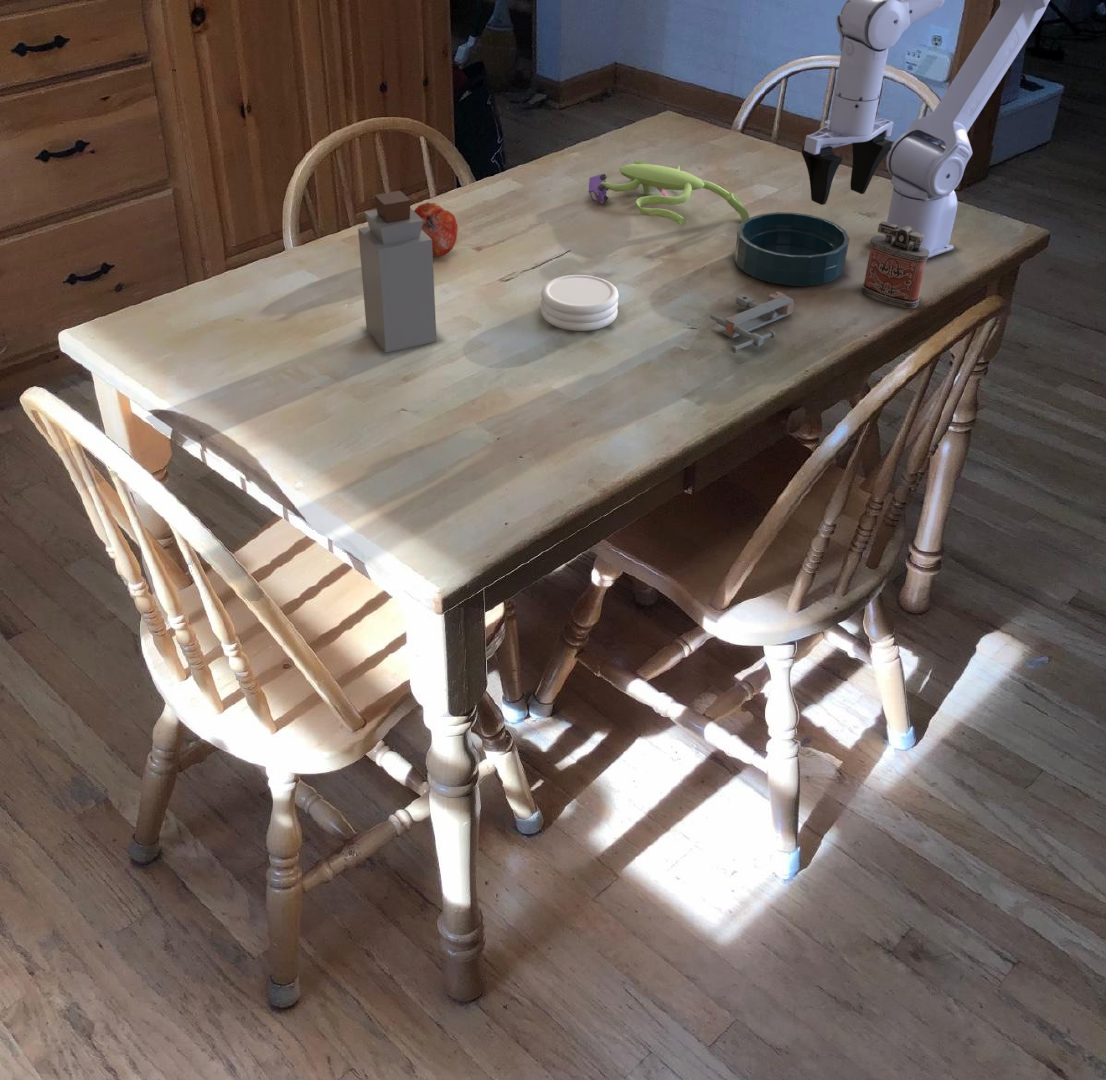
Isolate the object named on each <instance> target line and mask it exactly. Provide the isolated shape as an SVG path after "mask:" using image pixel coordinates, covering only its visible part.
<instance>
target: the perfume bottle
mask: <svg viewBox="0 0 1106 1080" xmlns="http://www.w3.org/2000/svg"><path fill="white" fill-rule="evenodd" d="M374 201H375V207H376V209H371V210H364V211H363V213H364V217H365V219H366V222H367V224H368V226H364V227H358V228H357V232H358V246H359V255H360V256H359V257H360V267H361V268H360V269H361V279H362V291H363V304H364V315H365V325H366V330H367V332H368V333H369V334H370V335H371V336H372V338H374V341H375V342H377V343H378V345H379V346H380V347H381V349H382V350H383V351H384V352H385V353H389V352H395V351H398V350H399V351H400V350H403V349H404V350H405V349H407V348H413V347H417V346H421V345H426V344H430V343H435V342H438V341H437V322H436V321H437V320H436V300H435V299H436V297H435V277H434V256H433V251H432V239H431V238H430V237H429V236H428V235H427V234H426V233H425V232H424V231H423V230H421V229H422V225H423V221H424V220H423V219H422V218H421V217H420V216H418V215H417V214H416V213H415V212H414V210H413V209H412V208H411V199H410V198H409V197H408V196H407V195H406V194H404V192H402V190H395V191H390V192H384V193H377V194H374Z"/></svg>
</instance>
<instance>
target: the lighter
mask: <svg viewBox="0 0 1106 1080" xmlns="http://www.w3.org/2000/svg"><path fill="white" fill-rule="evenodd" d="M877 233H879V234H883V235H874V236H872V237H871V238H870V241H869V246H870V249H869V255H868V259H867V264H866V265H867V266H866V271H865V276H864V282H863V283H862V285H861V290H860V291H861V294H864V295H865V296H868V297H869V298H872V299H875V300H877V301H880V302H883V303H886V304H889V305H893V306H896V307H901V308H905V309H915V308H917V307H918V306H919V302H920V296H919V295H920V293H921V286H922V282H923V278H924V273H925V268H926V263H927V260H928V259H929V258H928V257H929V251H928V250H927V249H925V248H922V247H920V246H921V243H922V241H923V236H924V235H923V234H921V233H918V232H914V231H913V229H912V228H911V227H910V226H905V227H903V228H901V227H898V225H895V224H891V223H888V222H887V221H884V220H883V221H881V222H880V223H878V227H877ZM885 234H886V237H885V236H884V235H885ZM892 237H895V239H894V238H892Z"/></svg>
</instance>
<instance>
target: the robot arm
mask: <svg viewBox="0 0 1106 1080" xmlns="http://www.w3.org/2000/svg"><path fill="white" fill-rule="evenodd" d="M945 1H946V0H846V1H845V3H844V4H843V5H842V7H841V10H840V13H839V14H837V15H836V30H837V32H838V33H839V37H840V38H839V39H840V40H839V47H838V48H839V49H840V53H841V54H840V58H839V64H838V69H837V76H836V82H835V87H834V93H833V99H832V105H831V111H830V117H829V119H827V120H825V121H824V123H823V127H822V128H820V129H819V130H817V131H815V132H813V133H811V134H808V135H806V136H805V140H804V145H802V148H801V156H802V158H803V160H804V163H805V166H806V170H807V173H808V178H809V187H810V201H811V202H814V203H816V204H818V205H821V206H823V205H826V204H827V202H828V200H829V196H830V193H831V188H832V185H833V181H834V178H835V175H836V173H837V171H838V168H839V166H840V165H841V163H842V161H843V160H844V159H843V157H841V156H838V155H836V154H835V152H834V151H833V149H834V148H839V147H843V146H847V145H851V147H852V168H851V173H850V174H851V175H850V190H851V191H853V192H856V193H858V194H860V195H863V194H865V193H866V191H867V189H868V187H869V185H870V183H871V182H872V178H873V177H874V174H875V172H876V171H877V169H878V167H879V166H880V164H881V162H882V161H883V160H884V158H885V157H886V160H885V161H886V163H885V164H886V169H887V172H888V173H889V175H891V180H890V184H892V185H893V187H892V193H891V199H890V205H889V209H888V215H887V220H886V222H888V223H891V224H895V225H898V227H901V228H903V227H905V226H910V227H911V228H912V229H913V231H914V232H918V233H921V234H923V235H924V236H923V241H922V243H921V246H920V247H922V248H925V249H927V250H928V251H929V257H928V259H929V258H932V257H935V256H938V255H941V254H945V253H947V252H949V251H952V250H954V247H955V246H954V245H953V244H950V241H951V238H952V237H951V236H952V233H953V228H954V224H955V221H956V220H955V219H956V216H957V210H958V197H957V193H956V192H955V190H956V188H957V187H958V186H959V184H960V183H961V181H962V178H963V176H964V173H965V169H966V167H967V164H968V162H969V161H970V159H971V157H972V156H973V149H972V146H971V143H970V139H969V136H968V132H969V130H970V129H971V127H972V126H973V124H974V123H975V121H976V119H977V118H978V117H979V115H980V114H981V112H982V110H983V109H984V107H985V106H986V105H987V102H988V101H989V100H990V98H991V96H992V95H993V93H994V92H995V90H996V88H997V87H998V85H999V84H1000V83H1001V81H1002V79H1003V77H1004V76H1005V75H1006V73H1007V72H1008V70H1009V68H1010V67H1011V65H1012V64H1013V62H1014V60H1015V59H1016V57H1017V56H1018V54H1019V53H1020V51H1021V50H1022V48H1023V47H1024V45H1025V44H1026V42H1027V41H1028V39H1029V37H1030V35H1031V34H1032V33H1033V31H1034V29H1035V28H1036V26H1037V24H1038V23H1039V21H1040V20H1041V18H1042V17H1043V16H1044V13H1045V12H1046V10H1047V7H1048V5H1049V2H1050V1H1051V0H999V6H998V8H997V10H996V11H995V13H994V14H993V17H992V18H991V19H990V21H989V22H988V24H987V26H986V28H984V30H983V32H982V33H981V35H980V37H979V38H978V40H977V42H976V43H975V45H974V46H973V47H972V50H971V51H970V53H969V54H968V55H967V58H966V59H965V61H964V62H963V64H962V65H961V66H960V69H959V70H958V72H957V73H956V75H955V77H954V78H953V80H952V81H951V83H950V85H949V86H948V88H947V90H946V91H945V93H944V94H943V96H942V97H941V99H940V100H939V102H938V104H937V106H936V107H935V109H934V110H933V112H932V113H930V114H928V115H925V116H923V117H920V118H917V119H915V120H912V122H910V125H909V126H908V128H907V129H906V130H905V131H904V132H903V133H902V134H901V135H900V136H899V137H898V138H896V140H895V141H894V142H892V141H890V140H888V139H885V138H890V137H891V136H892V131H893V127H894V121H891V120H889V119H886V118H883V117H881V118H877V113H878V112H877V111H878V106H879V101H880V96H881V91H882V85H883V80H884V75H885V70H886V65H887V58H888V55H889V50H890V48H892V47H893V46H894V45H895V44H896V43H897V42H898V41H899V40H900V38H901V36H902V34H903V33H904V32H905V31H906V30H908V29H909V26H911V25H913V24H915V23H917V22H918V21H920V20H922V19H924V18H925V17H927V16H930V15H931V14H933V13H935V12H937V11H938V10H940V9H941V8H942V7H943V5H944V3H945ZM938 144H939V145H938ZM883 236H885V237H886V234H883ZM892 238H894V239H895V237H892Z"/></svg>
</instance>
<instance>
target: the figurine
mask: <svg viewBox="0 0 1106 1080" xmlns="http://www.w3.org/2000/svg"><path fill="white" fill-rule="evenodd" d="M618 170H619V172H620V174H621V175H622V176H623V177H625V178H627V179H629V180H630V181H629V182H625V183H620V184H619V183H618V184H614V183H613V184H612V183H610V182H607V181H606V179H607V178H608V177H607V175H606V174H605V173H601V174H598V175H594V176H591V177H589V178H588V179H589V180H588V193H589V195H590V197H591V199H592V200H593V201H595V202H596V201H597V202H598V203H599V204H600V205H601V204H605V202H608V200H609V197H608V195H607V191H613V192H616V193H617V192H620V193H621V192H628V191H635V190H637V189H638V188H639V186H640V185H642V190H643V193H644V196H640V197H638V198H636V199H635V207H636V208H637V210H638V211H639V212H640V213H641V215H643V216H647V217H652V218H653V217H654V218H664V219H668V220H671V221H673V222H675V223H676V224H678V225H679V226H684V225H685V224H686V218H685V217H683V216H682V215H680V214H679V213H676V212H675V211H672V210H669V209H666V208H649V207H642V206H645V205H652V204H661V205H662V204H663V205H672V206H673V205H679V204H680V205H681V204H684V203H686V202H687V201H688V200H689V199H690V196H691V194H692V191H695V190H700V189H705V190H707V191H710V192H713V193H715V194H716V195H718V196H719V197H722V199H724V200H725V201H726V202H727V204H728V205H729V206H731V207H732V208H733V209H734V210H735V211H736V212H737V213H738V214H739V216H740V219H741V221H742V222H744V221H745V220H747V219H748V218H750V215H749V213H748V211H747V210H746V208H745V207H744V206H743V205H742V202H741V201H740V199H739V198H738V197H737V195H736V194H734V193H732V192H729V191H728V190H726V189H724V188H723V187H722V186H720V185H718V184H716V183H714V182H711V181H708V180H704V179H701V178H700V177H697V176H695V175H693V174H691V173H690V172H687V171H684V170H681V165H678V166H677V167H675V168H674V167H669V166H664V165H658V164H650V163H647V162H645V161H643V160H640V159H636V160H635V161H634V162H633V163H630V164H626V165H622V166H621V167H619V169H618ZM652 188H655V189H657V190H658V191H659V192H660V193H661V194H662V195H658V194H656V195H647V194H648V193H649V192H650V190H651V189H652ZM666 190H668V191H669V190H671V191H682V193H681V194H680V195H676V196H670V195H669V194H668V193H667V191H666Z"/></svg>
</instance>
